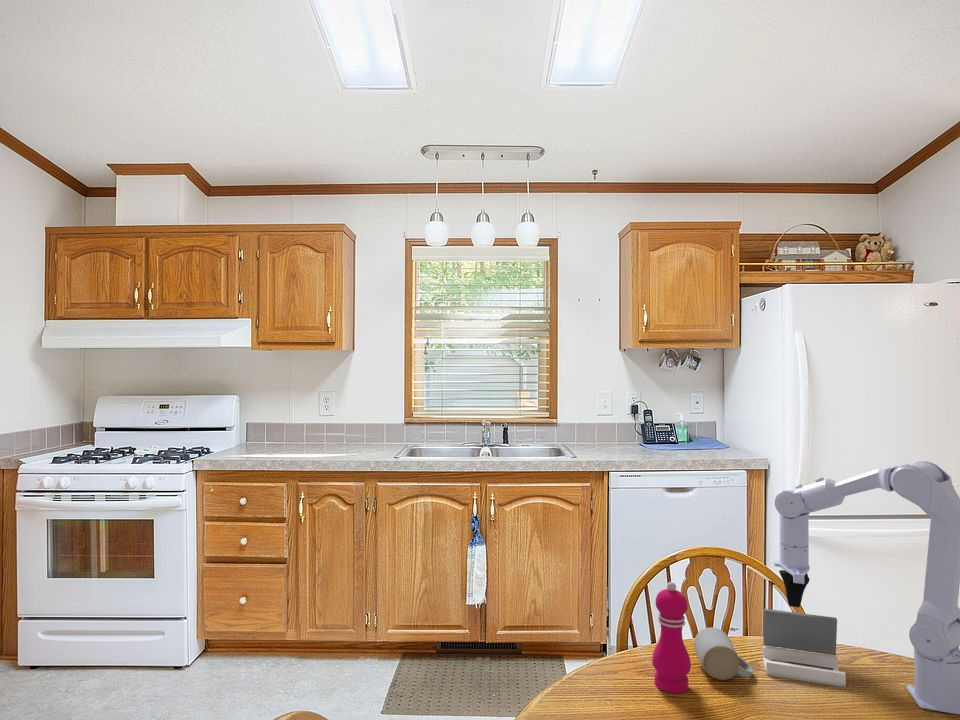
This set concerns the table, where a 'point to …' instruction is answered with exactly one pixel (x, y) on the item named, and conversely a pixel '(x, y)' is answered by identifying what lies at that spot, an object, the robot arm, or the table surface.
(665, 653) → the pepper mill
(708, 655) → the ceramic mug
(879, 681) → the table surface
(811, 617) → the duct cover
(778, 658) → the cable duct
